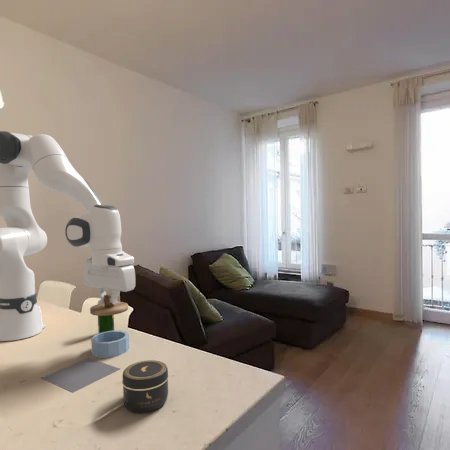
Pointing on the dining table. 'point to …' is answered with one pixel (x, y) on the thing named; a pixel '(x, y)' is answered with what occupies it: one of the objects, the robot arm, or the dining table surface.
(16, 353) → the dining table surface
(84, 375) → the mat
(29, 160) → the robot arm
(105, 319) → the beer can
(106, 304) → the lid
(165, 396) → the jar
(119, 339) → the bowl
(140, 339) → the dining table surface
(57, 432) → the dining table surface
